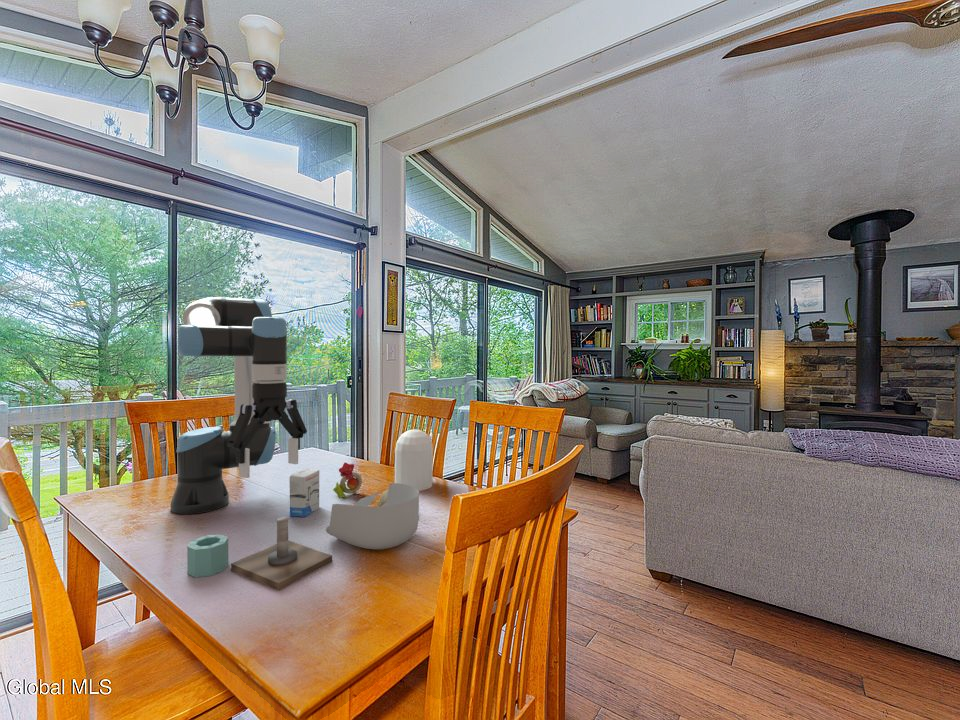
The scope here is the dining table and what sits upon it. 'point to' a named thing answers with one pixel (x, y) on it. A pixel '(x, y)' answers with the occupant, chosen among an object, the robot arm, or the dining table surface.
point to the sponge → (383, 498)
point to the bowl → (377, 519)
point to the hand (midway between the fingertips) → (270, 470)
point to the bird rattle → (351, 483)
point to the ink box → (304, 492)
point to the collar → (207, 555)
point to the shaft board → (281, 561)
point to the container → (414, 460)
